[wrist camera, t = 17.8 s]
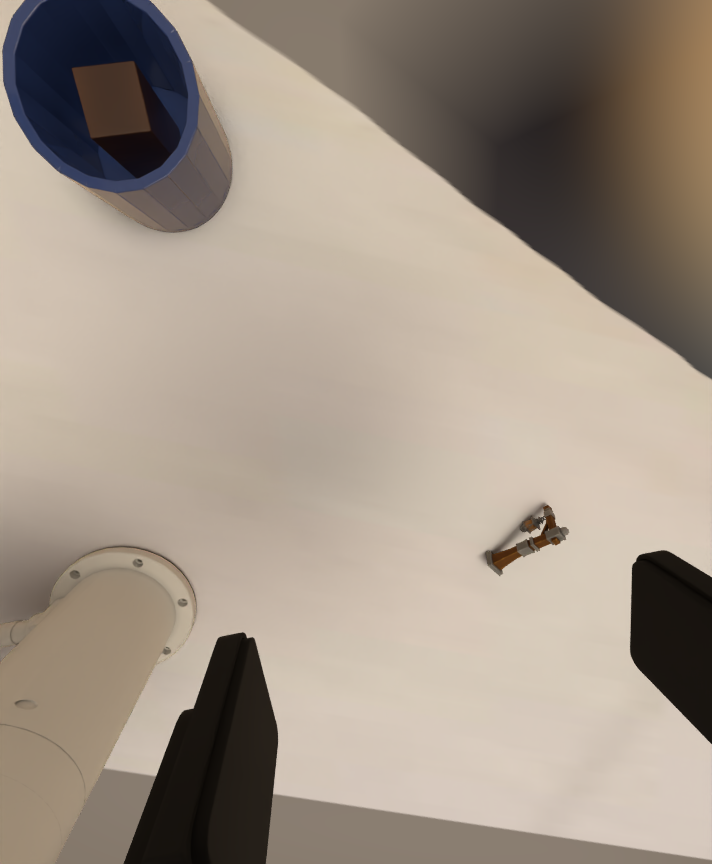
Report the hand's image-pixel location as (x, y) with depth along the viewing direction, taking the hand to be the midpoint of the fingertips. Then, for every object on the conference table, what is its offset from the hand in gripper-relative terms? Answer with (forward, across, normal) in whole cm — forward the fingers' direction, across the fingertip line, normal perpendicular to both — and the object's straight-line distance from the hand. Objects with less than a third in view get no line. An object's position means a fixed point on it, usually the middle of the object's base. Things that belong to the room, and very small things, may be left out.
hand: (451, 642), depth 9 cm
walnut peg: (+26, +11, -22) cm, 36 cm away
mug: (+26, +11, -24) cm, 37 cm away
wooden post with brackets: (+26, -14, +14) cm, 33 cm away
